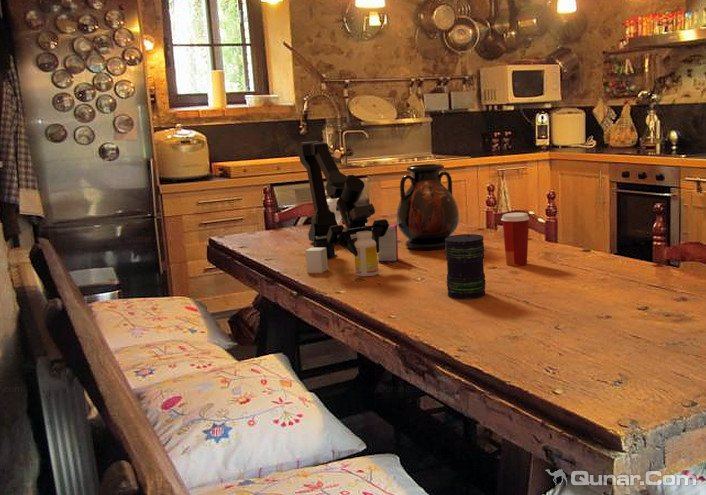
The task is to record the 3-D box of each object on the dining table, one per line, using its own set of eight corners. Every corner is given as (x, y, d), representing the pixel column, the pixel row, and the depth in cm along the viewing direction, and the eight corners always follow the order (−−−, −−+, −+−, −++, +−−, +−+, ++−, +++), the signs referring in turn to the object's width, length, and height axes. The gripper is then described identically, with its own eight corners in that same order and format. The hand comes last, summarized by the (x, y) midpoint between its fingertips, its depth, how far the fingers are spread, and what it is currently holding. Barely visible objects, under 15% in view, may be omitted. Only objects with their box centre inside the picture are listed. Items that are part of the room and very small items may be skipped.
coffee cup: (533, 261, 229) (532, 212, 226) (527, 267, 222) (526, 216, 219) (505, 260, 233) (504, 212, 230) (499, 266, 225) (497, 216, 223)
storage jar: (476, 301, 189) (474, 241, 186) (440, 298, 194) (438, 240, 191) (491, 291, 197) (489, 234, 194) (456, 288, 202) (454, 233, 200)
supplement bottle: (381, 272, 229) (378, 230, 226) (374, 277, 223) (371, 234, 220) (359, 272, 231) (357, 230, 229) (352, 277, 225) (349, 234, 222)
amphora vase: (444, 238, 278) (440, 161, 273) (471, 247, 258) (468, 164, 253) (389, 245, 271) (384, 166, 266) (412, 255, 251) (408, 170, 246)
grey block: (307, 272, 235) (305, 250, 234) (313, 269, 240) (311, 247, 238) (322, 273, 233) (320, 250, 232) (327, 269, 238) (326, 247, 237)
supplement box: (396, 262, 242) (394, 226, 239) (378, 262, 243) (375, 227, 241) (399, 258, 247) (397, 223, 245) (381, 259, 248) (378, 224, 246)
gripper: (327, 199, 222) (344, 241, 215) (384, 192, 230) (403, 233, 222) (319, 222, 231) (336, 264, 223) (375, 215, 238) (392, 255, 230)
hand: (367, 253), depth 224 cm, fingers closed on supplement bottle, 7 cm apart
